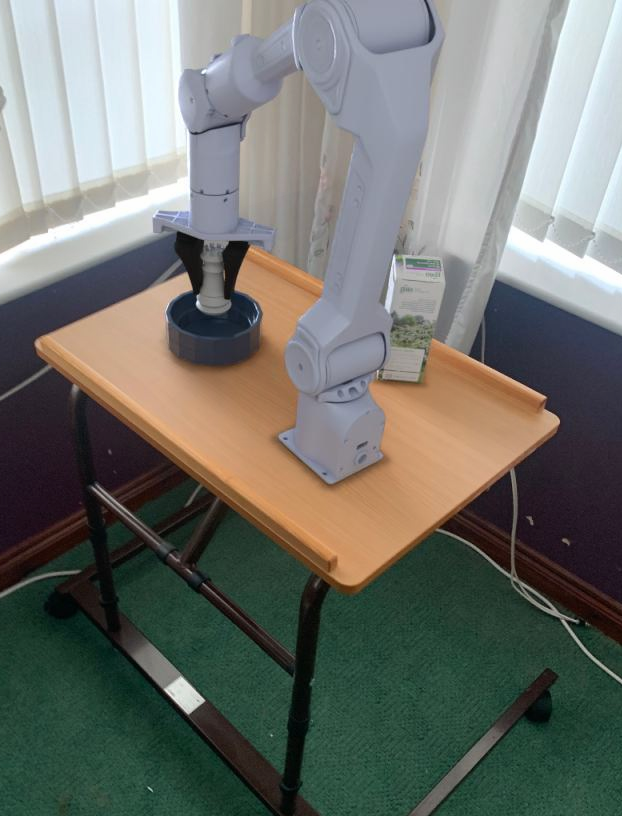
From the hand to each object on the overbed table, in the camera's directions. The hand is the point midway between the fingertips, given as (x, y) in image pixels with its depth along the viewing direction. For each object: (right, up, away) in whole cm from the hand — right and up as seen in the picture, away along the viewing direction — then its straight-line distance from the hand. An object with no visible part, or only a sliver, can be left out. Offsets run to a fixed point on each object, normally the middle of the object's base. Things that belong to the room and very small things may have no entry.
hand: (214, 293), depth 99 cm
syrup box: (+23, -9, +2) cm, 25 cm away
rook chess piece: (0, -1, +2) cm, 2 cm away
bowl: (0, -5, +5) cm, 7 cm away
